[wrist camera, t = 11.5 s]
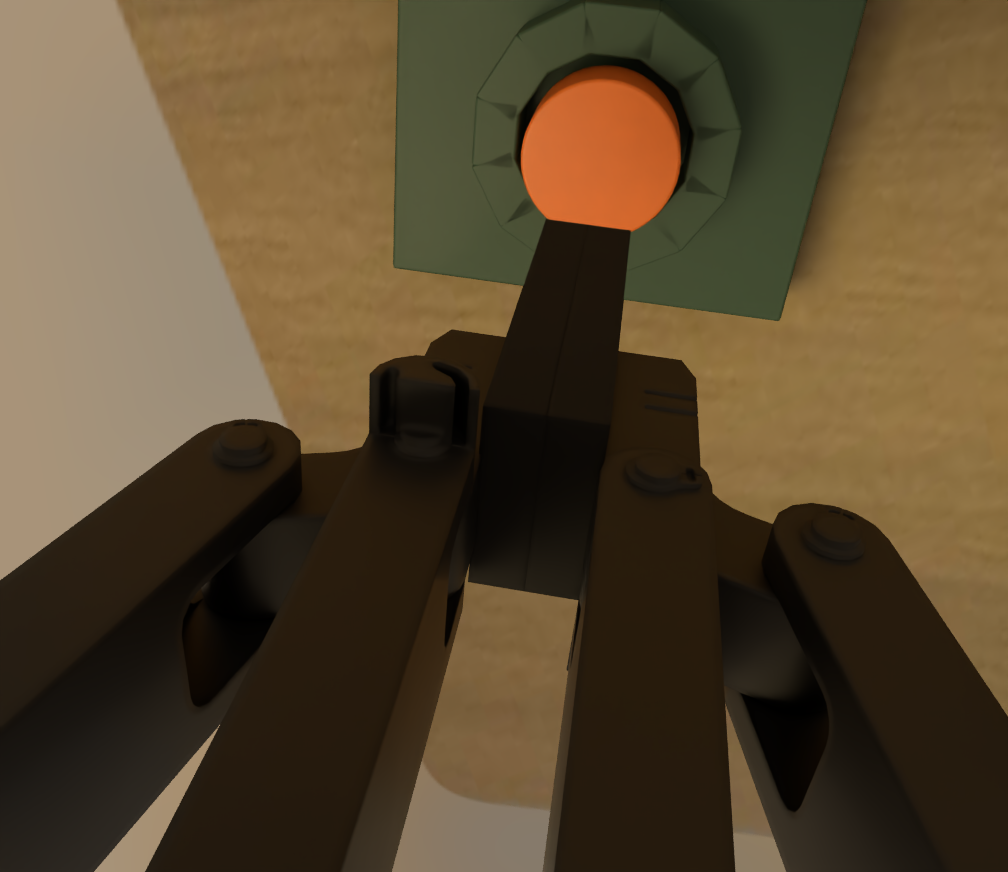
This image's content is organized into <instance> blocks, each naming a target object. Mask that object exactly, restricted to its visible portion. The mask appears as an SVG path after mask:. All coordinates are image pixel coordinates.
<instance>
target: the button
mask: <svg viewBox="0 0 1008 872" xmlns="http://www.w3.org/2000/svg"><path fill="white" fill-rule="evenodd" d="M680 165H681V144H680V130H679V124H678V120H677V117H676V114H675V111H674V109H673V107H672V105H671V103H670V101H669V100H668V98H667V97H666V95H665V94H664V93H663V92H662V90H661V89H660V88H659V87H658V86H657V85H656V84H655V83H654V82H652V81H651V80H650V79H648V78H647V77H645V76H644V75H642V74H640V73H638V72H636V71H634V70H631V69H628V68H625V67H620V66H613V65H599V66H592V67H587V68H583V69H581V70H578V71H575V72H573V73H571V74H569V75H567V76H566V77H564V78H563V79H561V80H560V81H559V82H557V83H556V84H555V85H554V86H553V87H552V88H551V89H550V90H549V91H548V92H547V93H546V95H545V96H544V97H543V98H542V100H541V102H540V103H539V105H538V106H537V108H536V110H535V113H534V115H533V117H532V119H531V121H530V123H529V125H528V127H527V130H526V132H525V135H524V139H523V143H522V149H521V170H522V176H523V180H524V183H525V186H526V189H527V191H528V193H529V195H530V197H531V199H532V201H533V202H534V204H535V205H536V207H537V208H538V209H539V210H540V212H541V213H542V214H543V215H544V216H545V217H546V218H547V219H549V220H557V221H564V222H572V223H579V224H587V225H594V226H602V227H609V228H617V229H624V230H631V232H632V231H634V230H636V229H638V228H640V227H642V226H643V225H645V224H646V223H648V222H649V221H650V220H651V219H653V218H654V217H655V216H656V215H657V214H658V213H659V212H660V211H661V210H662V209H663V207H664V206H665V205H666V203H667V202H668V200H669V198H670V197H671V195H672V193H673V191H674V189H675V186H676V184H677V180H678V177H679V173H680Z"/></svg>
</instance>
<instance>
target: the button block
mask: <svg viewBox="0 0 1008 872" xmlns="http://www.w3.org/2000/svg"><path fill="white" fill-rule="evenodd" d="M866 3H867V0H398V44H397V96H396V148H395V200H394V252H393V265H394V268H399V269H406V270H413V271H420V272H427V273H435V274H442V275H449V276H456V277H464V278H471V279H478V280H485V281H492V282H500V283H507V284H514V285H521V286H523V285H524V283H525V280H526V277H527V274H528V271H529V268H530V265H531V262H532V259H533V256H534V253H535V250H536V247H537V244H538V241H539V238H540V235H541V232H542V229H543V226H544V223H545V220H546V219H547V218H546V217H545V216H544V215H543V214H542V213H541V212H540V210H539V209H538V208H537V207H536V205H535V204H534V202H533V201H532V199H531V197H530V195H529V193H528V191H527V189H526V186H525V183H524V180H523V176H522V170H521V149H522V143H523V139H524V135H525V132H526V130H527V127H528V125H529V123H530V121H531V119H532V117H533V115H534V113H535V110H536V108H537V106H538V105H539V103H540V102H541V100H542V98H543V97H544V96H545V95H546V93H547V92H548V91H549V90H550V89H551V88H552V87H553V86H554V85H555V84H556V83H557V82H559V81H560V80H561V79H563V78H564V77H566V76H567V75H569V74H571V73H573V72H575V71H578V70H581V69H583V68H587V67H592V66H599V65H613V66H620V67H625V68H628V69H631V70H634V71H636V72H638V73H640V74H642V75H644V76H645V77H647V78H648V79H650V80H651V81H652V82H654V83H655V84H656V85H657V86H658V87H659V88H660V89H661V90H662V92H663V93H664V94H665V95H666V97H667V98H668V100H669V101H670V103H671V105H672V107H673V109H674V111H675V114H676V117H677V120H678V124H679V130H680V144H681V165H680V173H679V177H678V180H677V184H676V186H675V189H674V191H673V193H672V195H671V197H670V198H669V200H668V202H667V203H666V205H665V206H664V207H663V209H662V210H661V211H660V212H659V213H658V214H657V215H656V216H655V217H654V218H653V219H651V220H650V221H649V222H648V223H646V224H645V225H643V226H642V227H640V228H638V229H636V230H634V231H632V232H631V234H630V244H629V253H628V263H627V272H626V282H625V292H624V300H630V301H637V302H644V303H651V304H659V305H666V306H673V307H680V308H688V309H695V310H702V311H709V312H716V313H724V314H731V315H738V316H745V317H753V318H760V319H767V320H774V321H779V320H780V318H781V315H782V311H783V308H784V304H785V300H786V297H787V293H788V289H789V286H790V282H791V278H792V275H793V271H794V267H795V264H796V260H797V256H798V252H799V249H800V245H801V241H802V238H803V234H804V230H805V227H806V223H807V219H808V216H809V212H810V208H811V205H812V201H813V197H814V194H815V190H816V186H817V183H818V179H819V175H820V172H821V168H822V164H823V161H824V157H825V153H826V150H827V146H828V142H829V139H830V135H831V131H832V128H833V124H834V120H835V117H836V113H837V109H838V106H839V102H840V98H841V95H842V91H843V87H844V84H845V80H846V76H847V72H848V69H849V65H850V61H851V58H852V54H853V50H854V47H855V43H856V39H857V36H858V32H859V28H860V25H861V21H862V17H863V14H864V10H865V6H866Z"/></svg>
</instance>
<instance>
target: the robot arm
mask: <svg viewBox="0 0 1008 872" xmlns="http://www.w3.org/2000/svg"><path fill="white" fill-rule="evenodd" d="M630 234H631V230H624V229H617V228H609V227H602V226H594V225H587V224H579V223H572V222H564V221H557V220H549V219H546V220H545V223H544V226H543V229H542V232H541V235H540V238H539V241H538V244H537V247H536V250H535V253H534V256H533V259H532V262H531V265H530V268H529V271H528V274H527V277H526V280H525V283H524V285H523V288H522V291H521V294H520V297H519V300H518V303H517V306H516V309H515V312H514V315H513V318H512V321H511V324H510V327H509V330H508V333H507V336H506V337H500V336H493V335H486V334H479V333H472V332H465V331H458V330H450V331H449V332H447V333H446V334H444V335H442V336H441V337H439V338H438V339H436V340H435V341H433V342H431V344H430V346H429V348H428V350H427V352H426V354H425V356H417V355H415V356H408V357H401V358H395V359H392V360H390V361H387V362H385V363H382V364H380V365H379V366H378V367H377V368H376V369H374V370H373V371H372V372H371V373H370V405H369V434H368V436H367V438H366V440H365V442H364V444H363V446H362V447H360V448H356V449H353V450H349V451H342V452H332V453H311V454H301V446H300V440H299V439H298V438H297V436H296V435H295V434H294V433H293V432H292V430H290V429H288V428H286V427H284V426H281V425H279V424H277V423H274V422H268V421H263V420H257V419H248V420H245V419H241V420H233V421H229V422H225V423H221V424H217V425H213V426H211V427H209V428H208V429H206V430H204V431H202V432H200V433H198V434H197V435H195V436H194V437H192V438H191V439H190V440H188V441H187V442H186V443H184V444H183V445H182V446H180V447H179V448H178V449H176V450H175V451H174V452H172V453H171V454H170V455H168V456H167V457H166V458H164V459H163V460H162V461H160V462H159V463H157V464H156V465H155V466H153V467H152V468H151V469H150V470H148V471H147V472H146V473H144V474H143V475H141V476H140V477H139V478H137V479H136V480H135V481H133V482H132V483H131V484H129V485H128V486H127V487H125V488H124V489H123V490H121V491H120V492H118V493H117V494H116V495H114V496H113V497H112V498H110V499H109V500H108V501H106V502H105V503H104V504H102V505H101V506H100V507H98V508H97V509H96V510H94V511H93V512H92V513H90V514H89V515H88V516H86V517H85V518H83V519H82V520H81V521H80V522H78V523H77V524H75V525H74V526H73V527H71V528H70V529H69V530H68V531H66V532H65V533H64V534H62V535H61V536H59V537H58V538H57V539H55V540H54V541H53V542H51V543H50V544H49V545H47V546H46V547H45V548H43V549H42V550H40V551H39V552H38V553H37V554H35V555H34V556H32V557H31V558H30V559H28V560H27V561H26V562H24V563H23V564H22V565H20V566H19V567H18V568H16V569H15V570H14V571H12V572H11V573H10V574H8V575H7V576H6V577H4V578H3V579H1V580H0V872H94V871H95V870H96V869H97V867H98V866H99V865H100V864H101V863H102V861H103V860H104V859H105V858H106V857H107V856H108V855H109V853H110V852H111V851H112V850H113V849H114V848H115V846H116V845H117V844H118V843H119V842H120V841H121V839H122V838H123V837H124V836H125V835H126V834H127V832H128V831H129V830H130V829H131V828H132V827H133V825H134V824H135V823H136V822H137V821H138V820H139V818H140V817H141V816H142V815H143V814H144V813H145V811H146V810H147V809H148V808H149V807H150V805H151V804H152V803H153V802H154V801H155V800H156V799H157V797H158V796H159V795H160V794H161V793H162V792H163V790H164V789H165V788H166V787H167V786H168V785H169V783H170V782H171V781H172V780H173V779H174V778H175V776H176V775H177V774H178V773H179V772H180V770H181V769H182V768H183V767H184V766H185V765H186V764H187V762H188V761H189V760H190V759H191V758H192V757H193V755H194V754H195V753H196V752H197V751H198V750H199V748H200V747H201V746H202V745H203V744H204V742H205V741H206V740H207V739H208V738H209V737H210V736H211V734H212V733H213V732H214V731H215V730H216V729H217V727H218V726H219V725H220V726H219V728H218V730H217V732H216V734H215V736H214V738H213V740H212V742H211V744H210V746H209V748H208V750H207V752H206V754H205V756H204V758H203V760H202V761H201V764H200V766H199V767H198V769H197V771H196V773H195V775H194V777H193V779H192V781H191V783H190V785H189V787H188V789H187V791H186V793H185V795H184V797H183V799H182V801H181V803H180V805H179V807H178V809H177V810H176V812H175V814H174V816H173V818H172V820H171V822H170V824H169V826H168V828H167V830H166V832H165V834H164V836H163V838H162V840H161V842H160V844H159V846H158V848H157V850H156V852H155V854H154V855H153V858H152V860H151V861H150V863H149V866H148V867H147V869H146V871H145V872H392V868H393V865H394V861H395V857H396V854H397V850H398V846H399V842H400V839H401V835H402V831H403V828H404V824H405V820H406V817H407V813H408V809H409V805H410V802H411V798H412V794H413V790H414V787H415V783H416V779H417V776H418V772H419V768H420V765H421V761H422V757H423V754H424V750H425V746H426V742H427V739H428V735H429V731H430V728H431V724H432V720H433V716H434V713H435V709H436V705H437V702H438V698H439V694H440V690H441V687H442V683H443V679H444V676H445V672H446V668H447V665H448V661H449V657H450V653H451V650H452V646H453V642H454V639H455V635H456V631H457V627H458V624H459V620H460V616H461V613H462V608H463V596H464V583H465V577H466V574H467V570H468V567H469V577H468V582H472V583H478V584H484V585H490V586H496V587H502V588H508V589H514V590H520V591H526V592H532V593H538V594H544V595H550V596H556V597H562V598H568V599H574V600H579V601H578V607H577V613H576V619H575V624H574V630H573V636H572V642H571V648H570V653H569V659H568V665H567V670H568V678H567V686H566V694H565V701H564V709H563V717H562V725H561V733H560V740H559V748H558V756H557V764H556V772H555V779H554V787H553V795H552V803H551V811H550V818H549V826H548V834H547V842H546V851H545V857H544V865H543V872H735V859H734V842H733V826H732V809H731V793H730V776H729V759H728V743H727V726H726V710H725V703H726V706H727V709H728V712H729V714H730V717H731V720H732V723H733V725H734V728H735V731H736V734H737V736H738V739H739V742H740V745H741V748H742V750H743V753H744V756H745V759H746V761H747V764H748V767H749V770H750V772H751V775H752V778H753V781H754V784H755V786H756V789H757V792H758V795H759V797H760V800H761V803H762V806H763V808H764V811H765V814H766V817H767V820H768V822H769V825H770V828H771V831H772V833H773V836H774V839H775V842H776V844H777V847H778V850H779V853H780V856H781V858H782V861H783V864H784V867H785V869H786V872H1008V716H1007V715H1006V713H1005V712H1004V710H1003V709H1002V707H1001V706H1000V704H999V703H998V701H997V700H996V698H995V697H994V695H993V694H992V692H991V691H990V689H989V688H988V686H987V685H986V683H985V682H984V680H983V679H982V677H981V676H980V674H979V673H978V671H977V670H976V668H975V667H974V665H973V664H972V662H971V661H970V659H969V658H968V657H967V655H966V654H965V652H964V651H963V649H962V648H961V646H960V645H959V643H958V642H957V640H956V639H955V637H954V636H953V634H952V633H951V631H950V630H949V628H948V627H947V625H946V624H945V622H944V621H943V619H942V618H941V616H940V615H939V613H938V612H937V610H936V609H935V607H934V606H933V604H932V603H931V601H930V600H929V598H928V597H927V595H926V594H925V592H924V591H923V590H922V588H921V587H920V585H919V584H918V582H917V581H916V579H915V578H914V576H913V575H912V573H911V572H910V570H909V569H908V567H907V566H906V564H905V563H904V561H903V560H902V558H901V557H900V555H899V554H898V552H897V551H896V549H895V548H894V546H893V545H892V543H891V542H890V540H889V539H888V538H887V537H886V536H885V535H884V534H883V533H882V532H881V531H880V530H879V529H878V528H877V527H876V526H875V525H874V524H872V523H870V522H869V521H867V520H865V519H864V518H862V517H860V516H859V515H857V514H855V513H853V512H850V511H848V510H844V509H842V508H839V507H835V506H830V505H822V504H815V503H808V504H800V505H792V506H790V507H788V508H787V509H785V510H783V511H781V512H779V513H778V515H777V517H776V519H775V521H774V523H773V524H771V523H768V522H765V521H762V520H760V519H757V518H754V517H752V516H749V515H747V514H744V513H742V512H740V511H738V510H735V509H733V508H732V507H730V506H728V505H727V504H725V503H724V502H722V501H721V500H719V499H718V498H717V497H716V496H715V495H714V494H713V493H712V484H711V482H710V479H709V476H708V474H707V472H706V471H705V470H704V469H703V468H702V467H701V466H700V449H699V429H698V416H697V414H698V408H697V401H696V400H697V387H696V378H695V377H694V376H693V374H692V373H691V372H690V370H689V369H688V368H687V367H686V365H685V364H684V363H683V362H682V360H676V359H669V358H662V357H655V356H648V355H641V354H634V353H627V352H620V351H618V349H619V340H620V330H621V321H622V311H623V301H624V292H625V282H626V272H627V263H628V253H629V244H630ZM469 563H470V565H469Z"/></svg>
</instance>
